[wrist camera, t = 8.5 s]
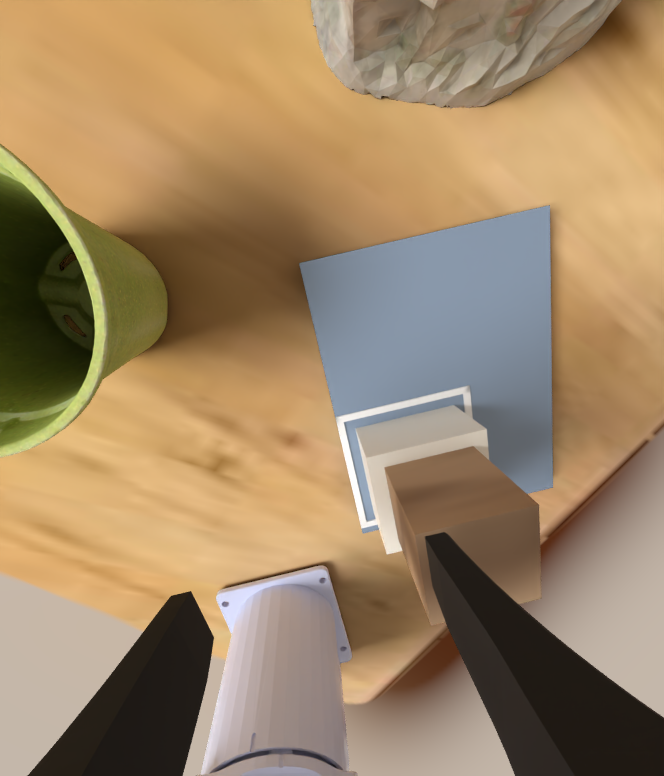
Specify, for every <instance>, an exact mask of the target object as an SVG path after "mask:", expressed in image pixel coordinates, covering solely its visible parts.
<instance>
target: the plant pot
mask: <svg viewBox="0 0 664 776" xmlns="http://www.w3.org/2000/svg"><path fill="white" fill-rule="evenodd" d="M73 251H74V253H75V255H76V257H77V259H76V260H74V261H72V262H70V263H69V265H67V266H66V268H65V269H64V270H63V271H62V270H61V269H60V263H61V262H62V260H63V259H64V258H65V257H66V256H67V255H68V254H70V253H72V252H73ZM167 307H168V300H167V291H166V288H165V284H164V282H163V280H162V278H161V276H160V274H159V272H158V271H157V269H156V268H155V267H154V265H153V264H152V263H151V262H150V261H149V260H148V259H147V258H146V257H145V256H144V255H143V254H142V253H141V252H140V251H138V250H137V249H136V248H134V247H133V246H131V245H130V244H128V243H126V242H125V241H123V240H121V239H120V238H118V237H116V236H114V235H113V234H111V233H109V232H107V231H105V230H104V229H102V228H100V227H99V226H97V225H95V224H93V223H92V222H90V221H88V220H87V219H85V218H83V217H82V216H80V215H78V214H77V213H75V212H73V211H72V210H70V209H68V208H67V207H65V206H64V205H63V203H62V202H61V201H60V200H59V198H58V197H57V196H56V195H55V194H54V193H53V191H52V190H51V189H50V188H49V187H48V186H47V185H46V184H45V183H44V182H43V181H42V180H41V179H40V178H39V177H38V176H37V175H36V174H35V173H34V172H33V171H32V170H31V169H30V168H29V167H28V166H27V165H26V164H25V163H23V162H22V161H21V160H20V159H19V158H17V157H16V156H15V155H14V154H13V153H12V152H10V151H9V150H8V149H7V148H5V147H4V146H2V145H1V144H0V457H5V456H9V455H13V454H17V453H20V452H23V451H26V450H28V449H30V448H33V447H35V446H37V445H39V444H41V443H43V442H45V441H47V440H48V439H50V438H51V437H53V436H55V435H56V434H57V433H59V432H60V431H62V430H63V429H65V428H66V427H67V426H68V425H69V424H71V423H72V422H73V421H74V420H75V419H76V418H77V417H78V416H79V415H80V414H81V413H82V412H83V410H84V409H85V408H86V407H87V405H88V404H89V403H90V401H91V400H92V398H93V396H94V395H95V393H96V391H97V389H98V388H99V386H100V384H101V382H102V379H104V378H105V377H107V376H108V375H110V374H111V373H112V372H114V371H115V370H117V369H118V368H120V367H121V366H122V365H124V364H125V363H127V362H128V361H130V360H131V359H133V358H134V357H136V356H138V355H139V354H141V353H142V352H144V351H145V350H147V349H148V348H150V347H151V346H152V345H153V344H154V343H155V342H156V341H157V340H158V339H159V337H160V336H161V334H162V333H163V331H164V329H165V326H166V323H167ZM64 315H69V316H70V317H71V319H72V320H73V321H74V323H75V324H76V325H77V326H78V327H79V328H80V329H81V330H82V333H85V334H86V337H85V336H81V335H80V334H78V333H76V332H75V331H73V330H72V329H71V328H70V327H69V325H68V324H67V323H66V321H65V318H64Z"/></svg>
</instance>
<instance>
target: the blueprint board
mask: <svg viewBox="0 0 664 776" xmlns="http://www.w3.org/2000/svg"><path fill="white" fill-rule="evenodd" d="M299 265H300V270H301V274H302V278H303V282H304V286H305V291H306V295H307V299H308V303H309V308H310V312H311V316H312V320H313V325H314V329H315V333H316V337H317V342H318V346H319V350H320V354H321V359H322V363H323V367H324V371H325V376H326V380H327V384H328V388H329V392H330V397H331V401H332V405H333V409H334V414H335V418H336V422H337V426H338V431H339V435H340V439H341V443H342V448H343V452H344V456H345V460H346V465H347V469H348V473H349V477H350V481H351V486H352V490H353V494H354V498H355V503H356V507H357V511H358V515H359V520H360V524H361V528H362V532H363V533H367V532H371V531H375V530H379V528H378V524H377V521H376V518H375V515H374V512H373V507H372V502H371V498H370V493H369V489H368V484H367V479H366V475H365V470H364V466H363V461H362V456H361V452H360V447H359V443H358V438H357V433H356V429H355V428H360V427H364V426H368V425H372V424H376V423H381V422H385V421H389V420H393V419H397V418H402V417H406V416H410V415H414V414H418V413H423V412H427V411H431V410H435V409H439V408H444V407H448V406H452V405H455V406H456V407H457V408H459V409H460V410H461V411H463V412H464V413H465V414H467V415H468V416H470V417H471V418H472V419H474V420H475V421H476V422H478V423H479V424H480V425H482V426H483V427H485V428H486V429H487V438H488V451H489V461H491V462H492V463H493V464H494V465H495V466H496V467H497V468H498V469H500V470H501V471H502V472H503V473H504V474H505V475H506V476H507V477H508V478H510V479H511V480H512V481H513V482H514V483H515V484H516V485H517V486H519V487H520V488H521V489H522V490H523V491H524V492H525V493H526V494H528V493H532V492H536V491H541V490H545V489H549V488H553V448H552V357H551V267H550V205H549V206H544V207H540V208H536V209H531V210H527V211H523V212H519V213H514V214H510V215H506V216H501V217H497V218H493V219H488V220H484V221H480V222H475V223H471V224H467V225H462V226H458V227H454V228H449V229H445V230H441V231H436V232H432V233H428V234H423V235H419V236H415V237H410V238H406V239H402V240H397V241H393V242H389V243H384V244H380V245H376V246H371V247H367V248H363V249H358V250H354V251H350V252H345V253H341V254H337V255H332V256H328V257H324V258H319V259H315V260H311V261H306V262H302V263H299Z"/></svg>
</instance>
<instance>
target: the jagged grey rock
mask: <svg viewBox="0 0 664 776" xmlns="http://www.w3.org/2000/svg"><path fill="white" fill-rule="evenodd" d="M621 1H622V0H311V10H312V13H313V17H314V26H316V28H317V36H318V39H319V45H320V49H321V50H322V52H323V55H324V58H325V60H326V63H327V65H328V67H329V68H331V70H332V72H333V73H334V74H335V76H336V77H337V78H338V79H339V80H340V82H342V83H343V84H344V86H346V87H347V88H349V89H350V90H351V89H354V90H355V92H357V93H360V94H363V95H365V94H367V93H369V92H370V93H371V94H372V95H373V96H374V97H376V98H379V99H381V96H388V97H389V99H395V100H400V101H404V102H409V103H410V102H420V103H426V104H434V103H435V105H436V106H437V107H441V108H442V107H444V106H447V108H448V106H450V108H458V107H463V106H464V107H466V108H469V107H472V106H474V107H477V106H485V105H487V104H489V103H491V102H493V101H495V100H497V99H498V98H502V97H504V96H506V95H511V93H512V92H513V90H515V89H517V88H518V87H520V86H523V85H524V84H525V83H526V82H529V81H531V80H534V79H536V78H538V77H540V76H543V75H544V74H546V73H547V72H549V71H550V70H551V69H553V68H554V67H556V66H557V65H558V64H560V63H561V62H563V61H564V60H565V59H566V58H567V57H570V56H571V55H572V54H573V53H574V52H575V51H578V50H579V49H581V47H582V46H584V45H585V44H586V43H587V42H588V41H589V39H590V38H591V37H592V36H593V35H594V34H595V33H596V32H597V30H598V29H599V28H600V27H601V26H602V25H603V23H604V22H605V20H606V19H607V17H608V16H609V14H610V13H611V12H612V11H613V10H614V9H615V7H616V6H617V5H618V4H619V3H620V2H621Z"/></svg>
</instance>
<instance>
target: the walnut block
mask: <svg viewBox="0 0 664 776" xmlns="http://www.w3.org/2000/svg"><path fill="white" fill-rule="evenodd" d="M384 469H385V474H386V479H387V484H388V489H389V494H390V499H391V504H392V509H393V515H394V520H395V525H396V530H397V535H398V540H399V543H400V545H401V548H402V551H403V553H404V556H405V559H406V561H407V564H408V566H409V569H410V572H411V574H412V577H413V580H414V582H415V585H416V588H417V590H418V593H419V596H420V598H421V601H422V604H423V606H424V609H425V612H426V614H427V617H428V620H429V622H430V625H431V626H433V625H437V624H441V623H445V619H444V616H443V614H442V611H441V608H440V606H439V603H438V600H437V598H436V595H435V592H434V589H433V587H432V581H431V574H430V568H429V562H428V555H427V549H426V542H425V536H429V535H433V534H438V533H442V532H445V533H447V534H449V536H450V537H451V538H452V539H453V540H454V541H455V542H456V543H457V545H458V546H459V547H460V548H461V549H462V550H463V551H464V552H465V553H466V554H467V555H468V556H469V557H470V558H471V559H472V560H473V561H474V562H475V563H476V564H477V565H478V566H479V568H480V569H481V570H482V571H483V572H485V573H486V574H487V575H488V576H489V577H490V578H491V579H492V580H493V581H494V582H495V583H496V584H497V585H498V586H499V587H500V588H501V589H502V590H503V591H505V592H506V593H507V594H508V595H509V596H510V597H511V598H512V599H513V600H514V601H515V602H516V603H518V604H522V603H526V602H530V601H534V600H538V599H541V598H542V597H541V561H540V526H539V504H538V503H536V502H535V501H534V500H533V499H532V498H531V497H530V496H529V495H527V494H526V493H525V492H524V491H523V490H522V489H521V488H520V487H519V486H517V485H516V484H515V483H514V482H513V481H512V480H511V479H510V478H508V477H507V476H506V475H505V474H504V473H503V472H502V471H501V470H500V469H498V468H497V467H496V466H495V465H494V464H493V463H492V462H491V461H489V460H488V459H487V458H486V457H485V456H484V455H483V454H482V453H481V452H479V451H478V450H477V449H476V448H475V447H474V446H471V447H467V448H463V449H459V450H455V451H450V452H446V453H442V454H438V455H434V456H430V457H425V458H421V459H417V460H413V461H409V462H405V463H400V464H396V465H392V466H388V467H384Z"/></svg>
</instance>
